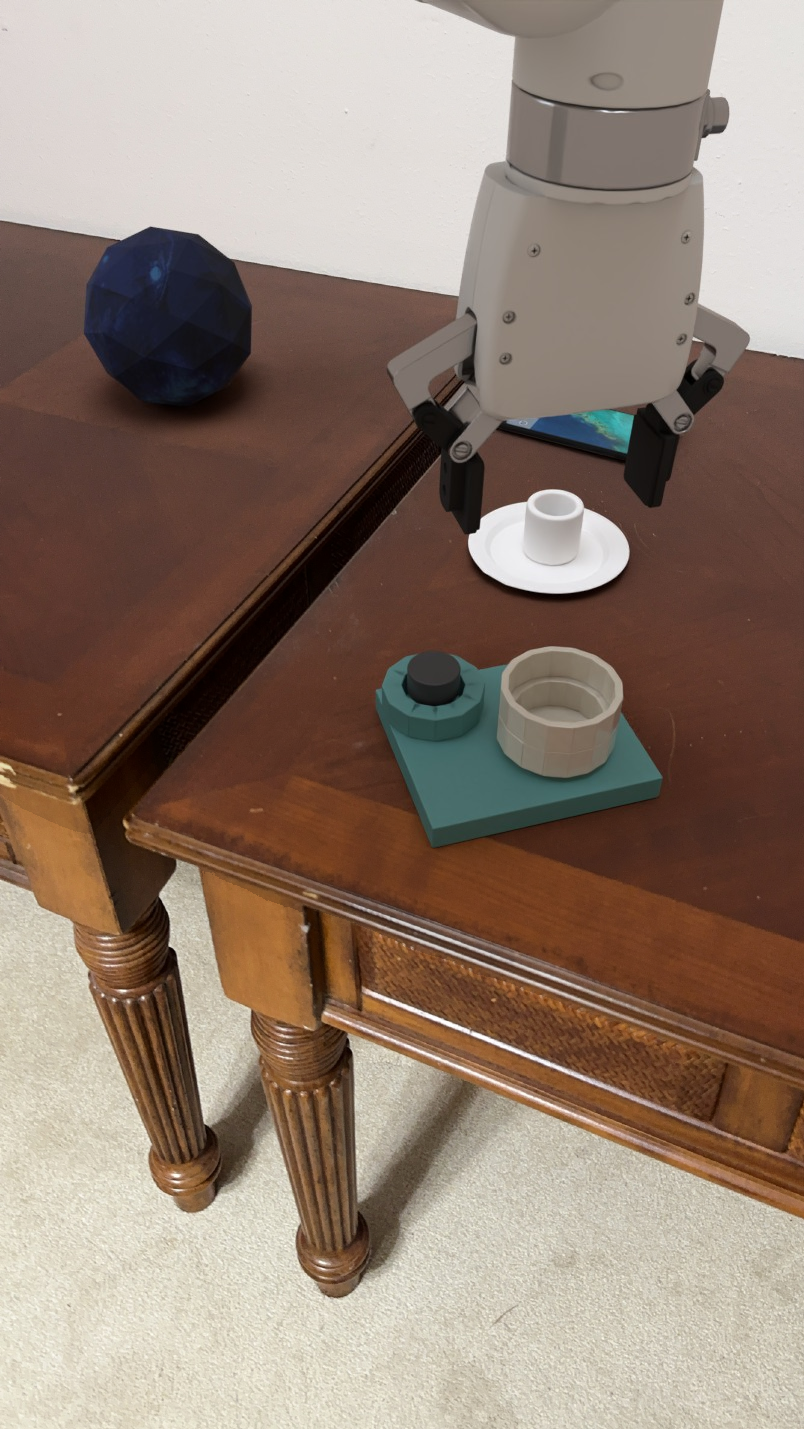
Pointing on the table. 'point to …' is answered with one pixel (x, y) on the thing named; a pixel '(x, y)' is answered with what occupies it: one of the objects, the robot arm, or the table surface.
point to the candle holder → (549, 545)
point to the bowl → (559, 711)
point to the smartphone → (581, 431)
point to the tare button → (433, 678)
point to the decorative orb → (168, 316)
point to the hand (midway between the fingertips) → (553, 506)
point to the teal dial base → (493, 763)
